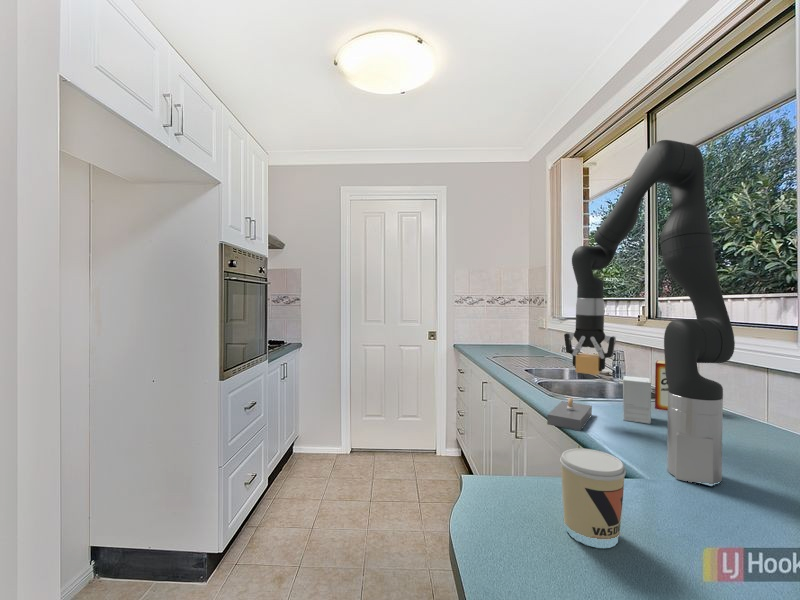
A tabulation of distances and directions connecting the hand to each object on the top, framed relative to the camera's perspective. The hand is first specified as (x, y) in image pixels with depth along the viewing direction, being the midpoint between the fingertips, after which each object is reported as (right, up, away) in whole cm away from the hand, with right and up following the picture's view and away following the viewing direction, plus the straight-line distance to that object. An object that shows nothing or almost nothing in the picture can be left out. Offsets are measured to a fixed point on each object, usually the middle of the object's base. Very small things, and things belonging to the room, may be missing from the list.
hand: (588, 369), depth 114 cm
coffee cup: (-26, -17, -53) cm, 62 cm away
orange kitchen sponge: (0, -1, 0) cm, 1 cm away
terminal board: (-4, -16, +4) cm, 17 cm away
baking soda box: (+36, -17, +15) cm, 43 cm away
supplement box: (+17, -17, +4) cm, 24 cm away
